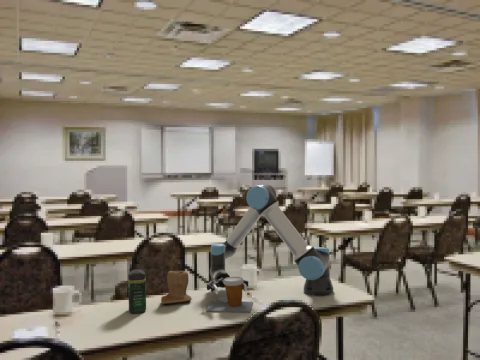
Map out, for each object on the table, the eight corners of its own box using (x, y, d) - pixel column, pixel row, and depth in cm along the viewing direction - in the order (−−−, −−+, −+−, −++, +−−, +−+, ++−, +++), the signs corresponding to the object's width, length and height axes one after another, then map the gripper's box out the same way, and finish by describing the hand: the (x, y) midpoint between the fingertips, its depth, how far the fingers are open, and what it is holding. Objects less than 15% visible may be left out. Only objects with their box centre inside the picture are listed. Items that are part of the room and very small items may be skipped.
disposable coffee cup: (245, 306, 198) (243, 280, 198) (224, 308, 198) (222, 282, 198) (245, 300, 207) (243, 275, 207) (225, 301, 207) (223, 277, 207)
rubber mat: (253, 302, 207) (253, 301, 207) (250, 312, 193) (250, 311, 193) (211, 302, 209) (211, 300, 209) (206, 311, 195) (206, 310, 195)
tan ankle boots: (188, 296, 219) (187, 267, 219) (193, 303, 208) (192, 272, 207) (158, 299, 214) (157, 269, 214) (161, 307, 203) (160, 275, 203)
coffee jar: (147, 312, 195) (146, 272, 195) (128, 314, 193) (127, 273, 193) (146, 306, 205) (145, 267, 204) (128, 308, 203) (127, 268, 202)
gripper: (245, 283, 221) (257, 295, 201) (197, 288, 215) (204, 300, 195) (245, 269, 221) (257, 279, 200) (197, 273, 215) (204, 284, 194)
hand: (231, 290), depth 197 cm, fingers open, 13 cm apart
